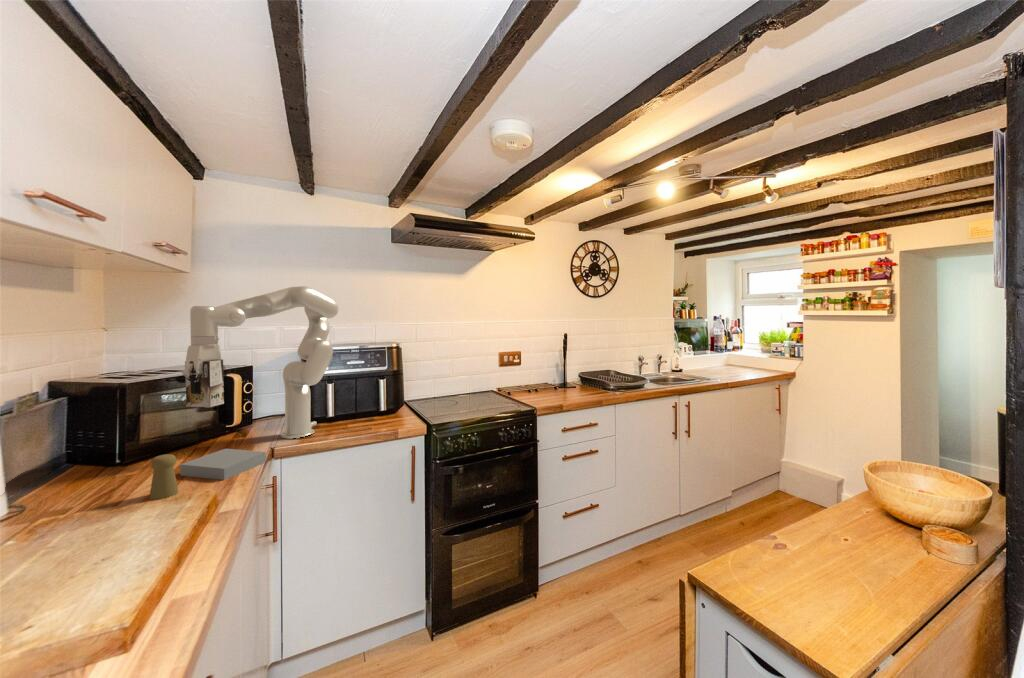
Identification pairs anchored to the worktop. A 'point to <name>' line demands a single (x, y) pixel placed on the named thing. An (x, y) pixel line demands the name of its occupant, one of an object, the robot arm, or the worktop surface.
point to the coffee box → (207, 386)
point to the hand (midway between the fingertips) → (205, 391)
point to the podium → (222, 464)
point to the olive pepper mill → (163, 477)
